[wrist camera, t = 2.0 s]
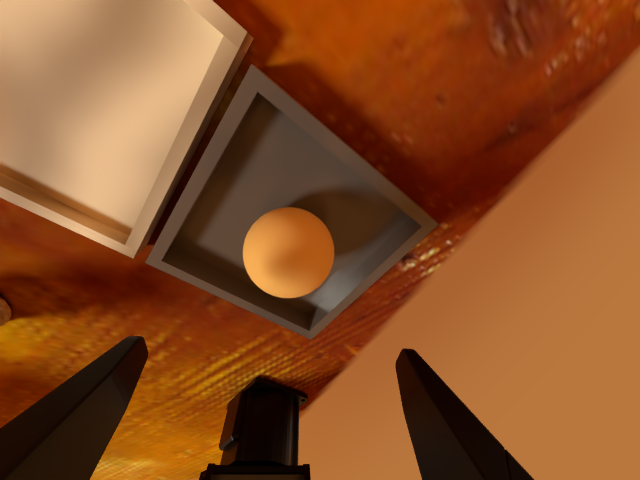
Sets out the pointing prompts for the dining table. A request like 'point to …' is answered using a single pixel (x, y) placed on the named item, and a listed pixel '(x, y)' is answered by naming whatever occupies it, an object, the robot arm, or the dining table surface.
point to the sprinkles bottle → (4, 312)
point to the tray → (108, 107)
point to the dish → (285, 191)
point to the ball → (288, 252)
